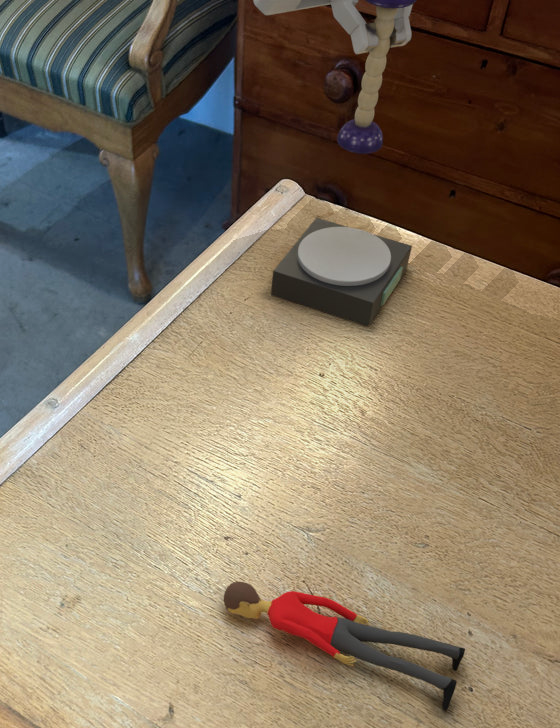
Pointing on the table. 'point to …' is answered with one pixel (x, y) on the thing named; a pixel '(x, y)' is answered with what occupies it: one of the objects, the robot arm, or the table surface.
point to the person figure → (342, 632)
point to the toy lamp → (371, 84)
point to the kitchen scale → (341, 271)
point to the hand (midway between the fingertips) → (383, 47)
